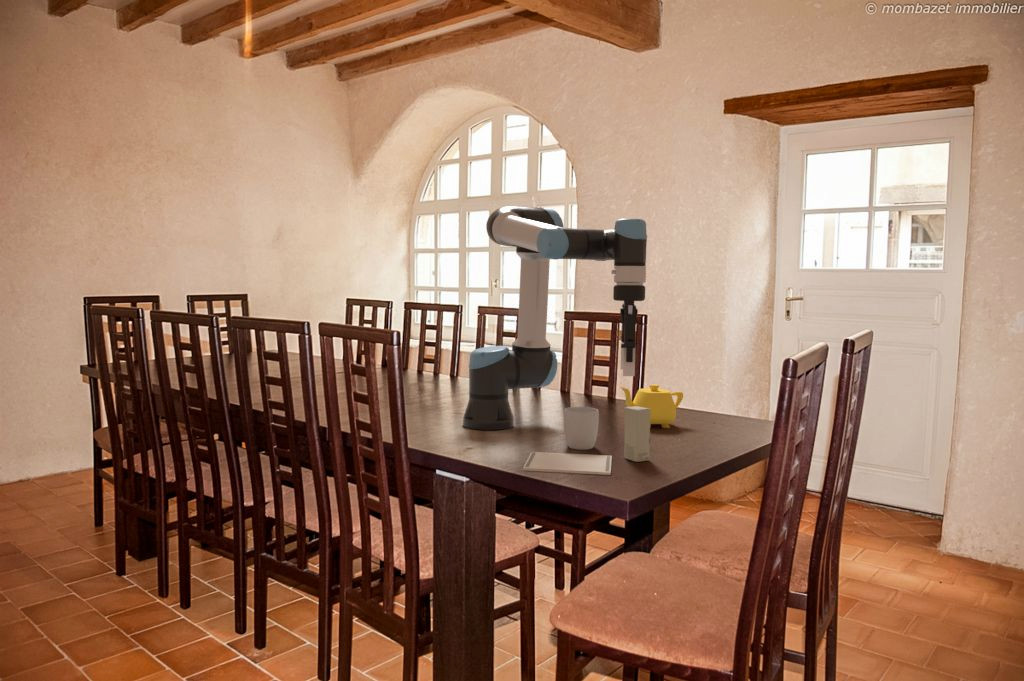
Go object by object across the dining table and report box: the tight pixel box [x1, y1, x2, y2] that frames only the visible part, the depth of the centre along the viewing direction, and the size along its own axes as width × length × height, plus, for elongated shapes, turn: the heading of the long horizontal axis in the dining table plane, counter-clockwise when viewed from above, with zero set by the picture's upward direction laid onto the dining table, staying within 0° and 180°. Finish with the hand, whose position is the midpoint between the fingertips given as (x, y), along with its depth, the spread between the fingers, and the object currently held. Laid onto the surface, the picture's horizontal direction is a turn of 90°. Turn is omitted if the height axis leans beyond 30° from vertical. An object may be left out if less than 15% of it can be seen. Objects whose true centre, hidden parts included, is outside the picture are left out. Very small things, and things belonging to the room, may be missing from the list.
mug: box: [563, 406, 600, 451], centre depth 196 cm, size 13×9×10 cm
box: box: [623, 406, 651, 463], centre depth 182 cm, size 5×4×13 cm
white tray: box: [522, 451, 613, 476], centre depth 177 cm, size 16×20×1 cm
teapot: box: [619, 383, 684, 429], centre depth 225 cm, size 13×20×12 cm
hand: (627, 372), depth 179 cm, fingers open, 13 cm apart
